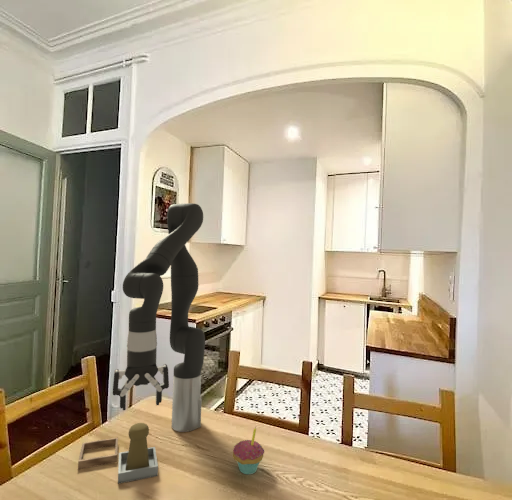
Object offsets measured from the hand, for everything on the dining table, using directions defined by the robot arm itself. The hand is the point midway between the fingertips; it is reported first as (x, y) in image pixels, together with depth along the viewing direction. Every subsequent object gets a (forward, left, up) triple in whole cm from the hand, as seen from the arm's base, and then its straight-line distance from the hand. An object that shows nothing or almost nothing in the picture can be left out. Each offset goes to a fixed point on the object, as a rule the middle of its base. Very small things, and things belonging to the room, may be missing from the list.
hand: (140, 406), depth 91 cm
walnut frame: (+10, -10, -17) cm, 22 cm away
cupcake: (-28, +9, -17) cm, 34 cm away
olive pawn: (0, 0, -16) cm, 16 cm away
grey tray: (0, 0, -17) cm, 17 cm away
